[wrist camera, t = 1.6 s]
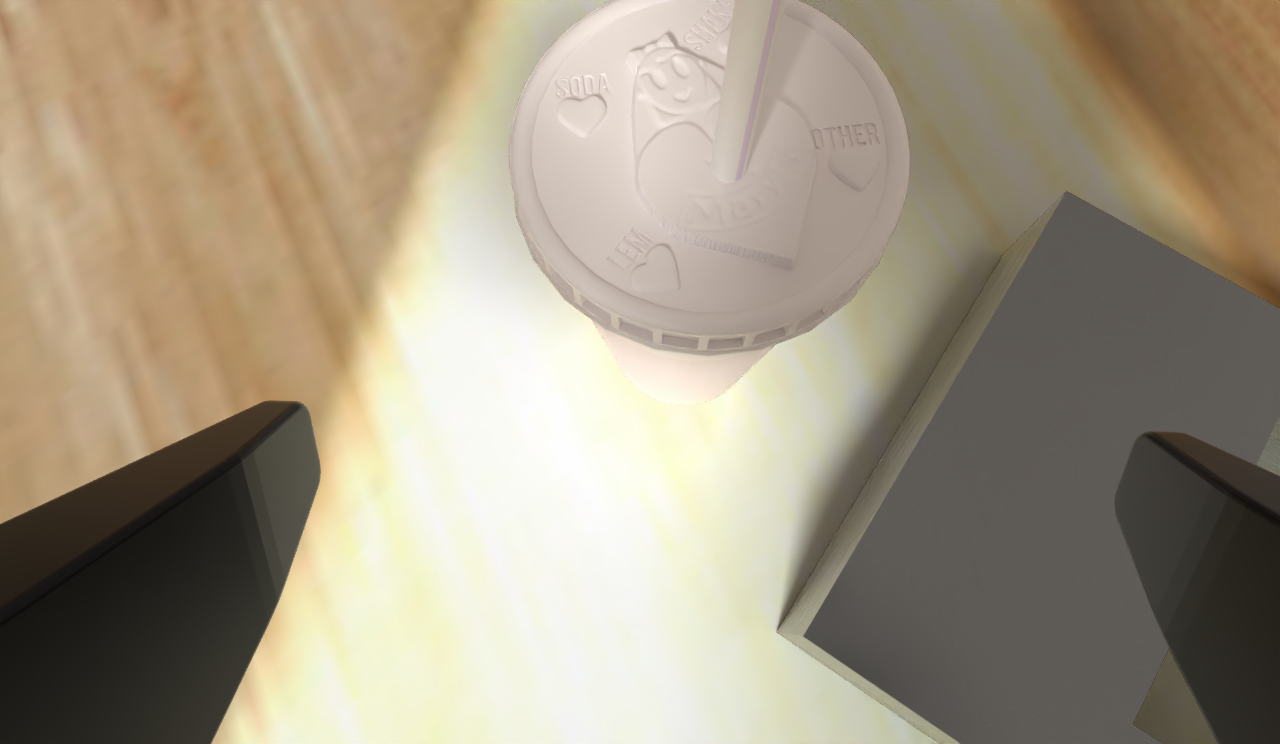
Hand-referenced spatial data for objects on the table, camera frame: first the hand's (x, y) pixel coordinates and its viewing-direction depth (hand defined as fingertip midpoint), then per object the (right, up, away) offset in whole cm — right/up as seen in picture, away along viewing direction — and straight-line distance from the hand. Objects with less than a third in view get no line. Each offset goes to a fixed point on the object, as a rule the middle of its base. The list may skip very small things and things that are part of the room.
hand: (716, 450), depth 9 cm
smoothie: (0, +2, +13) cm, 13 cm away
